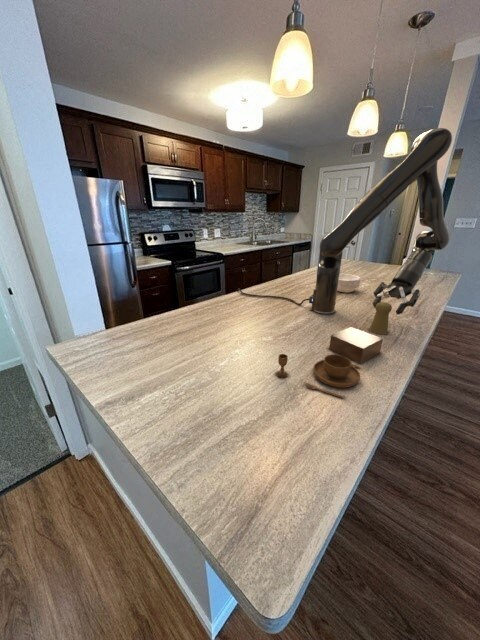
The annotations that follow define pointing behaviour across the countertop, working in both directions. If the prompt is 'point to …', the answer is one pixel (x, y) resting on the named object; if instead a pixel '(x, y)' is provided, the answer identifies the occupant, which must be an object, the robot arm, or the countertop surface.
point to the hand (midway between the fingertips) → (385, 309)
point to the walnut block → (355, 344)
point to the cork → (381, 318)
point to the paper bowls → (348, 283)
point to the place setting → (329, 371)
